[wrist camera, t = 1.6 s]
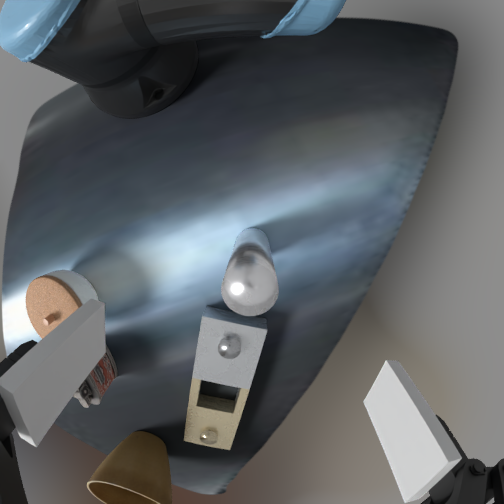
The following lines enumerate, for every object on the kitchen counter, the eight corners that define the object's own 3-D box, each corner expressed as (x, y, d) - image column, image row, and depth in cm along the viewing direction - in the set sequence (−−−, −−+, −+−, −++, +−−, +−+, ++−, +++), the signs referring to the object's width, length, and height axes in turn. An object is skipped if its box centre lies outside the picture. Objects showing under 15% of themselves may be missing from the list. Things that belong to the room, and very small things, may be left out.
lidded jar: (79, 245, 35) (38, 264, 26) (124, 305, 37) (93, 338, 28) (45, 285, 36) (9, 308, 27) (85, 338, 38) (56, 370, 29)
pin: (239, 224, 34) (227, 257, 19) (272, 232, 34) (284, 269, 20) (232, 256, 35) (216, 309, 20) (264, 263, 35) (270, 320, 21)
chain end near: (206, 305, 37) (200, 319, 33) (266, 318, 37) (267, 333, 33) (191, 391, 40) (187, 408, 36) (242, 402, 41) (241, 419, 37)
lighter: (121, 376, 40) (98, 416, 30) (105, 376, 40) (80, 414, 30) (103, 335, 38) (71, 371, 28) (87, 335, 38) (55, 369, 29)
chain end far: (196, 365, 39) (191, 382, 35) (249, 376, 39) (249, 394, 35) (186, 428, 43) (182, 444, 39) (231, 437, 43) (229, 454, 39)
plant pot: (124, 453, 46) (102, 507, 30) (107, 410, 42) (74, 470, 27) (189, 467, 46) (177, 527, 30) (181, 426, 42) (162, 497, 27)
